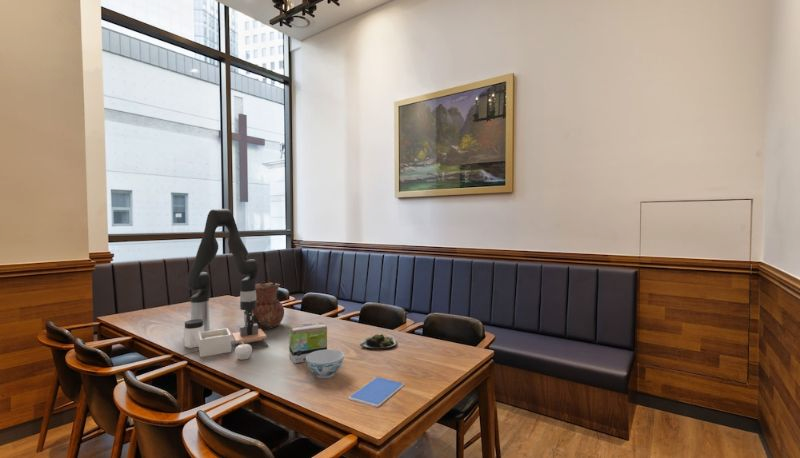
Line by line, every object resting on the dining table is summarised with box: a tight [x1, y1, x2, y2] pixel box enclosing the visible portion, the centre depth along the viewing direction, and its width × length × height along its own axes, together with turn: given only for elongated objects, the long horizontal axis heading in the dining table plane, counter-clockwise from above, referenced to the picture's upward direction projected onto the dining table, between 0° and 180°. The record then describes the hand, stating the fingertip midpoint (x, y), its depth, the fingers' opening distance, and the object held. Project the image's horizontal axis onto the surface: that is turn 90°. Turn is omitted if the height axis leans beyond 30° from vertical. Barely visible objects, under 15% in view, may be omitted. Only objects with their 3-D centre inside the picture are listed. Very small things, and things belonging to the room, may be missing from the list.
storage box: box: [198, 327, 232, 358], centre depth 178 cm, size 13×13×8 cm
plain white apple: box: [234, 341, 253, 361], centre depth 167 cm, size 7×7×8 cm
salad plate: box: [359, 333, 397, 351], centre depth 186 cm, size 19×18×5 cm
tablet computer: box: [348, 376, 405, 408], centre depth 134 cm, size 19×13×1 cm, turn 152°
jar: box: [183, 319, 204, 349], centre depth 186 cm, size 9×8×12 cm
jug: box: [252, 282, 285, 331], centre depth 217 cm, size 22×21×25 cm
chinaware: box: [305, 348, 345, 379], centre depth 149 cm, size 15×15×8 cm
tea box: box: [288, 321, 328, 365], centre depth 167 cm, size 15×10×15 cm
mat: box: [231, 338, 269, 351], centre depth 186 cm, size 17×15×1 cm
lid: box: [231, 323, 267, 344], centre depth 186 cm, size 14×14×7 cm
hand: (248, 333), depth 186 cm, fingers closed on lid, 4 cm apart
